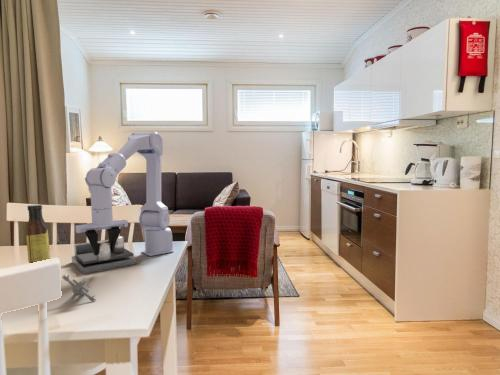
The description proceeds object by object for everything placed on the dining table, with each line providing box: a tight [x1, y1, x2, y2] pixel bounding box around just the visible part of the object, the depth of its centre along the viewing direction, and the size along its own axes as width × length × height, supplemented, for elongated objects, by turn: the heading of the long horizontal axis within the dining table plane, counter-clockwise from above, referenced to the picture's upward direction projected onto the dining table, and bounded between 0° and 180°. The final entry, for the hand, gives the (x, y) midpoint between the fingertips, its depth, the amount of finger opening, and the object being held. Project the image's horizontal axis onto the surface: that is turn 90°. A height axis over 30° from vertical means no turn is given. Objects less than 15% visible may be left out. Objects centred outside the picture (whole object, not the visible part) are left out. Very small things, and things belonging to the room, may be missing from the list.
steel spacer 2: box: [112, 235, 126, 254], centre depth 118 cm, size 4×4×5 cm
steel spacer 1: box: [97, 240, 111, 260], centre depth 107 cm, size 4×4×5 cm
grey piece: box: [61, 274, 97, 303], centre depth 88 cm, size 10×6×9 cm
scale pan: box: [77, 247, 134, 264], centre depth 116 cm, size 15×10×1 cm, turn 128°
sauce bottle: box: [25, 203, 51, 264], centre depth 117 cm, size 7×6×20 cm
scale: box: [71, 239, 137, 275], centre depth 118 cm, size 16×16×6 cm
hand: (103, 253), depth 107 cm, fingers closed on steel spacer 1, 4 cm apart
